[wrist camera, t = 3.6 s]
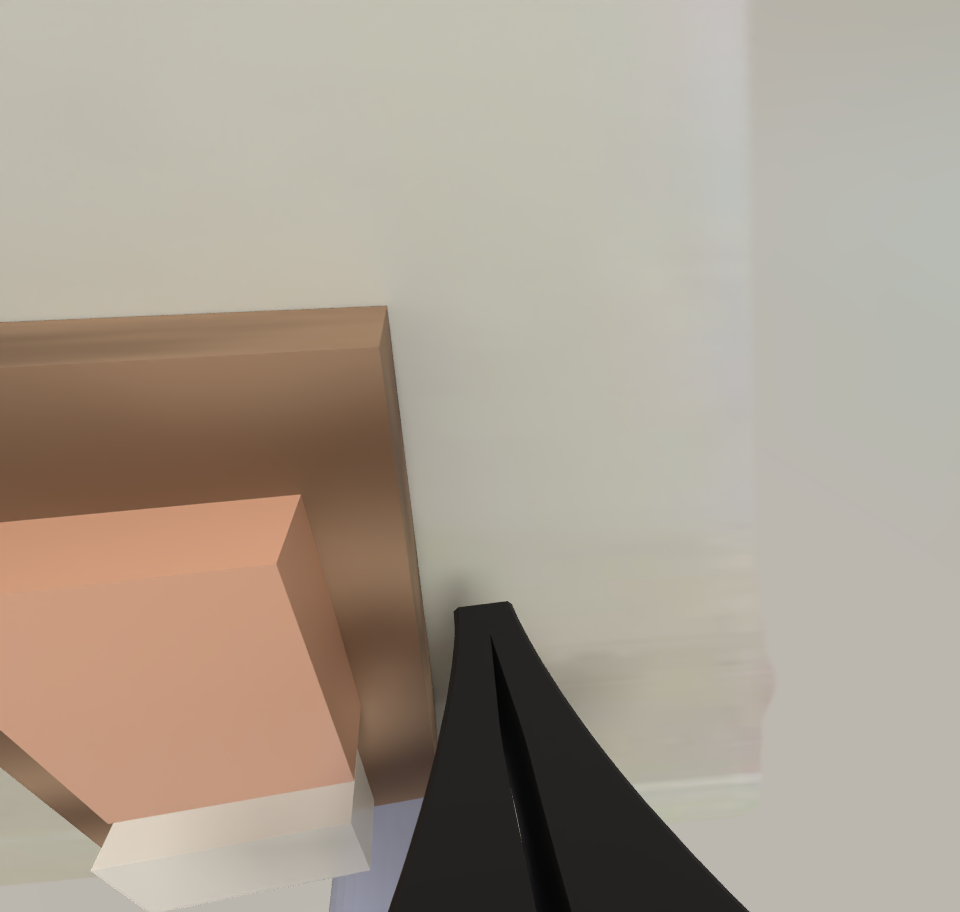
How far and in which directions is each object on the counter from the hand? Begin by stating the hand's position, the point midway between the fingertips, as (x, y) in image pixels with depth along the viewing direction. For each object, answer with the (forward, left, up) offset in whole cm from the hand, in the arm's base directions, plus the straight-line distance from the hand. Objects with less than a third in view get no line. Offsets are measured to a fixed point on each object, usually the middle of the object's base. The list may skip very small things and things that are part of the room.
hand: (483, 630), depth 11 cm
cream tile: (-8, +8, -1) cm, 11 cm away
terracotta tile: (0, +7, -1) cm, 7 cm away
